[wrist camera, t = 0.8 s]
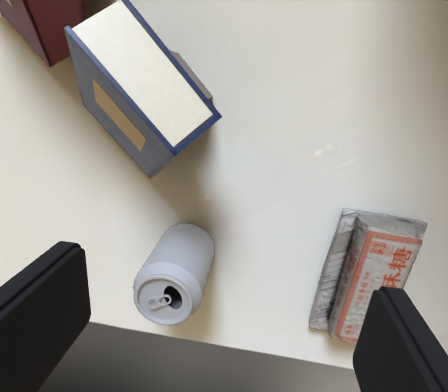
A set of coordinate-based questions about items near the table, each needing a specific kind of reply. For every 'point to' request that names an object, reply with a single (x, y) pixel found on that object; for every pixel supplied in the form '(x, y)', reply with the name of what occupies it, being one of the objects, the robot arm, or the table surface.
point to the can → (174, 275)
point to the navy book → (137, 87)
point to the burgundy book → (44, 24)
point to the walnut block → (192, 75)
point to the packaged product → (362, 268)
